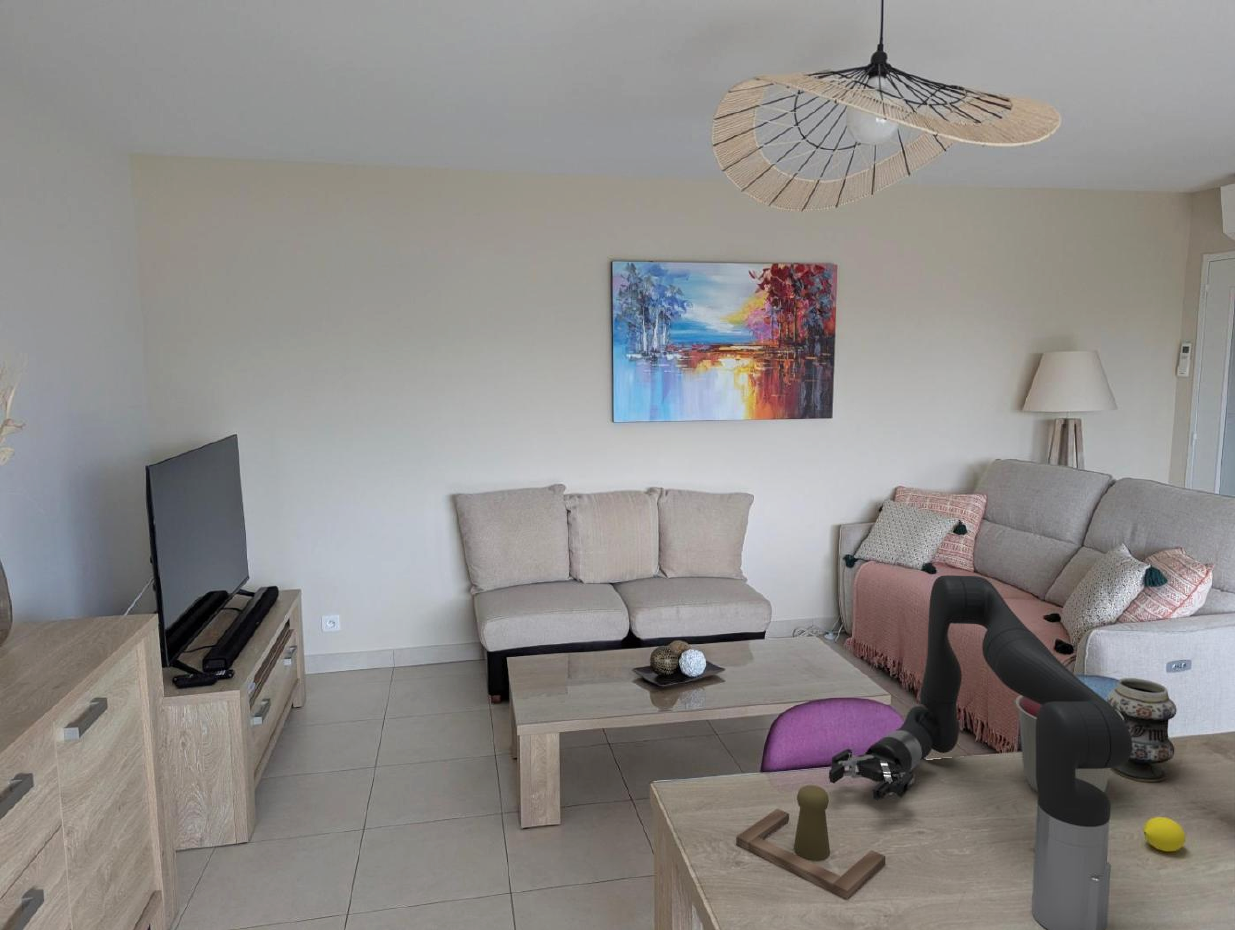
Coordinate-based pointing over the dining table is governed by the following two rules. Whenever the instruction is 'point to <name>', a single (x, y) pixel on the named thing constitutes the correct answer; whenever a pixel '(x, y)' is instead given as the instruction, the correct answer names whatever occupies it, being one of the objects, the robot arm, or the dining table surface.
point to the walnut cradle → (803, 868)
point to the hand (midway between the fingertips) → (852, 786)
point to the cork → (812, 824)
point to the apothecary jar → (1144, 727)
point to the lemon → (1164, 834)
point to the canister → (1028, 742)
